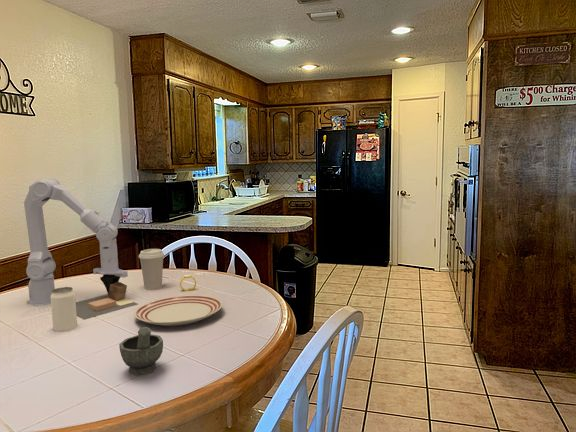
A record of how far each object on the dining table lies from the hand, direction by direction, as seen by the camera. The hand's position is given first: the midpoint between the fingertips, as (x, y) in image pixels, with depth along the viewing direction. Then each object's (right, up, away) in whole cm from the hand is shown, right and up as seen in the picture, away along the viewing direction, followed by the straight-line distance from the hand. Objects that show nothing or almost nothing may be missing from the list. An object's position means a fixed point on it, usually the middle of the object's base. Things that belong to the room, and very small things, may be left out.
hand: (111, 294), depth 160 cm
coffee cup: (+11, 0, +13) cm, 17 cm away
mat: (-2, -3, -8) cm, 8 cm away
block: (+2, -1, -1) cm, 3 cm away
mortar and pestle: (+30, -8, -55) cm, 63 cm away
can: (-3, -5, -27) cm, 28 cm away
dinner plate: (+29, -4, -18) cm, 34 cm away
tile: (-2, -1, -8) cm, 8 cm away
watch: (+26, 0, +10) cm, 27 cm away
